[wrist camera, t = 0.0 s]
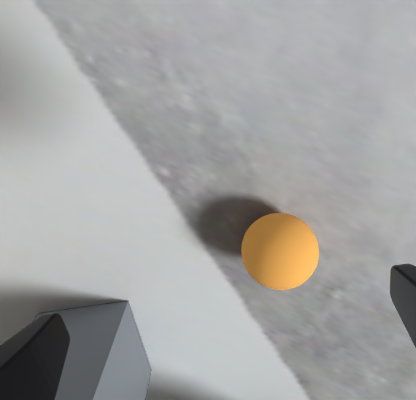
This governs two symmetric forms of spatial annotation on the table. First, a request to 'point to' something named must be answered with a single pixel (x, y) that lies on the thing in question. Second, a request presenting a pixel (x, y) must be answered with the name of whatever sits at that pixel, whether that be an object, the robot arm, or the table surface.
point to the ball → (280, 251)
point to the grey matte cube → (103, 355)
